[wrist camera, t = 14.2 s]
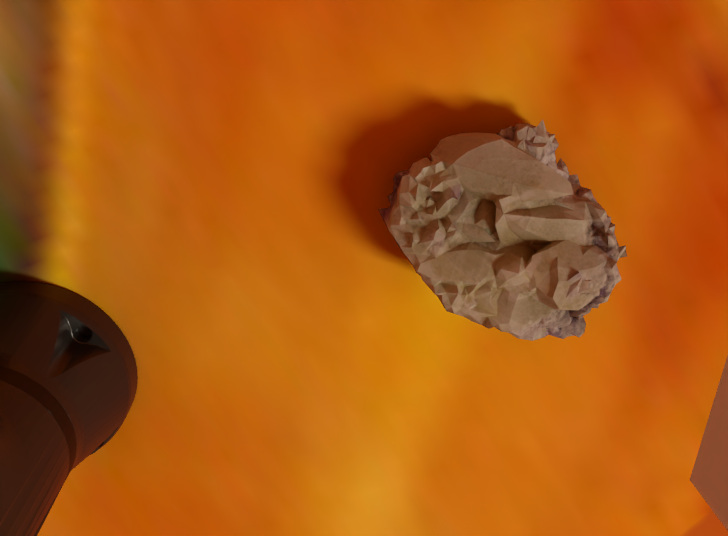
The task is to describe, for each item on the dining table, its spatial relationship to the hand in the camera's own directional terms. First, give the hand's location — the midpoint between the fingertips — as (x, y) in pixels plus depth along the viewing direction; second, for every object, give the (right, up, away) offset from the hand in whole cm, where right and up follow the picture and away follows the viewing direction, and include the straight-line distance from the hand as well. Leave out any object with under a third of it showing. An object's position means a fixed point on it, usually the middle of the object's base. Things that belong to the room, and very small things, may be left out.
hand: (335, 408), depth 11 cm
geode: (+11, +6, +38) cm, 40 cm away
